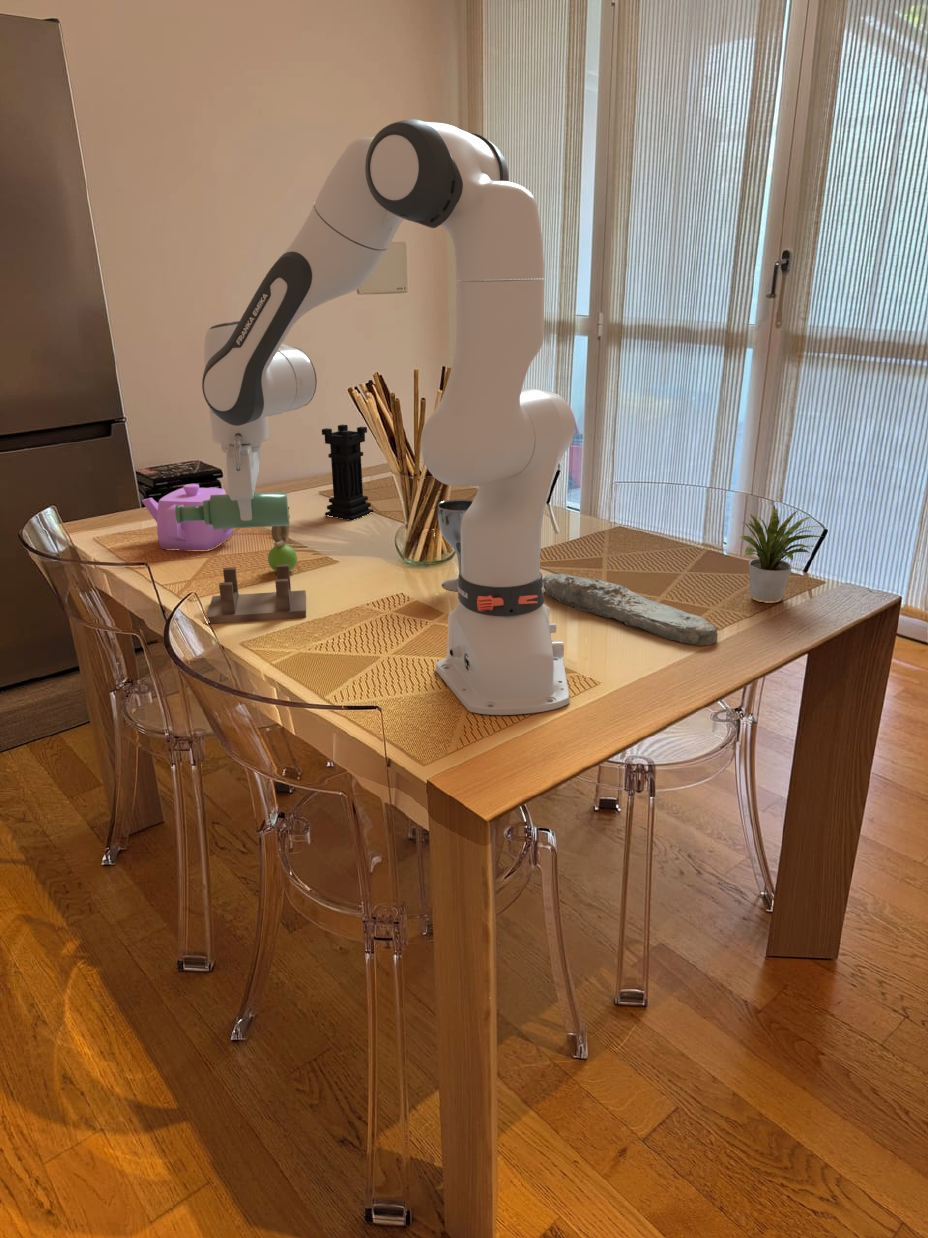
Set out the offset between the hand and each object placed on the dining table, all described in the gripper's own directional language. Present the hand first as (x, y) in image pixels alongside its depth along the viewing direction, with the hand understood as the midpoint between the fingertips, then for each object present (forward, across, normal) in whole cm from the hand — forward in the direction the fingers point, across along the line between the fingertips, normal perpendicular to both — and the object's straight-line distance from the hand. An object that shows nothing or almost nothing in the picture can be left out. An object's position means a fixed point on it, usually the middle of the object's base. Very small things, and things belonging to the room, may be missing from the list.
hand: (248, 513), depth 148 cm
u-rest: (+17, 0, 0) cm, 17 cm away
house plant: (+16, -12, -86) cm, 89 cm away
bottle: (+2, -2, +2) cm, 3 cm away
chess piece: (+18, +59, -18) cm, 64 cm away
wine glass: (+17, +6, -36) cm, 40 cm away
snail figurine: (+17, +20, -4) cm, 27 cm away
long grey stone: (+17, -14, -60) cm, 64 cm away
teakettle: (+18, +44, +15) cm, 49 cm away
